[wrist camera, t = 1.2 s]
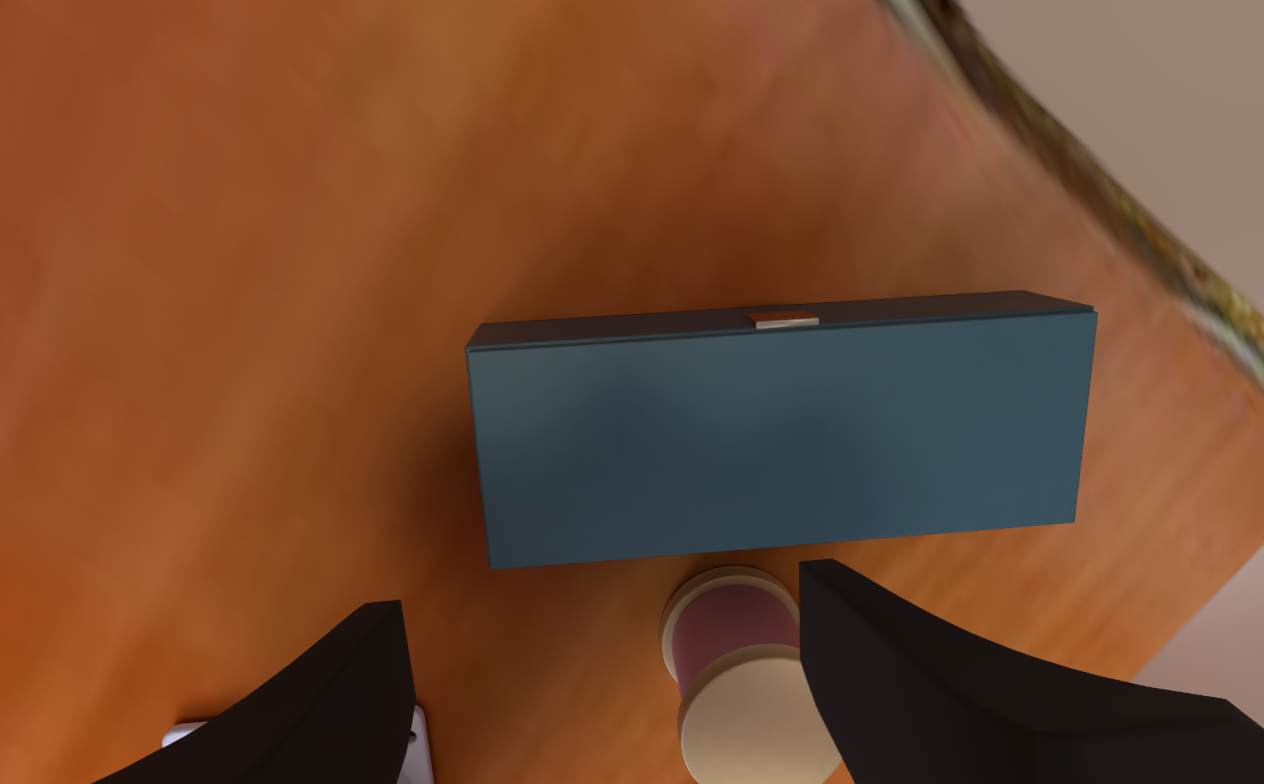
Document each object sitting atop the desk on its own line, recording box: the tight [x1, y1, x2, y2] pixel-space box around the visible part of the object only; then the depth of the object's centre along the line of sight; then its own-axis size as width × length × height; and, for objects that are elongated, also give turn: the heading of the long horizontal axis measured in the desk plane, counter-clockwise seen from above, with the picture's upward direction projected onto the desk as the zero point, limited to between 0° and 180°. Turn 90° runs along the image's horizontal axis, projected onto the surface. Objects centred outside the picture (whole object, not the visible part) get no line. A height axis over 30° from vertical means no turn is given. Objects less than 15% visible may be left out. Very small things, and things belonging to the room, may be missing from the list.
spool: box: [659, 566, 842, 784], centre depth 22 cm, size 5×5×5 cm
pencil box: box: [465, 291, 1098, 570], centre depth 21 cm, size 16×6×4 cm, turn 93°
